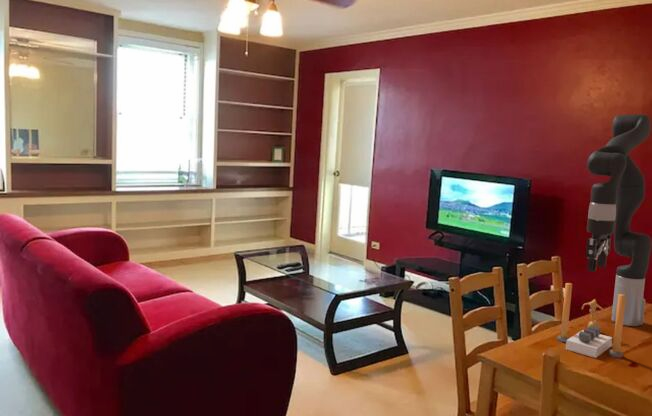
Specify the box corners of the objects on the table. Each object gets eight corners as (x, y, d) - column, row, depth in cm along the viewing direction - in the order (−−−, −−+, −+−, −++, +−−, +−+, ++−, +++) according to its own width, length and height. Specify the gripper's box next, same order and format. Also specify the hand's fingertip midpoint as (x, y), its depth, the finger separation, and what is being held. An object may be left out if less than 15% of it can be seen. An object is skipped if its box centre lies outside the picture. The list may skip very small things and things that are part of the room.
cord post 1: (566, 338, 181) (572, 282, 179) (571, 342, 178) (577, 285, 175) (555, 338, 181) (561, 282, 179) (560, 342, 178) (565, 285, 175)
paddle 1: (581, 337, 172) (580, 331, 171) (591, 340, 170) (590, 333, 169) (579, 340, 171) (578, 333, 170) (589, 342, 169) (589, 336, 168)
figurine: (608, 334, 187) (612, 300, 185) (601, 338, 183) (604, 303, 181) (583, 327, 193) (587, 294, 191) (576, 331, 189) (579, 297, 187)
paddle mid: (585, 334, 175) (585, 328, 174) (595, 337, 173) (595, 330, 172) (583, 337, 174) (583, 330, 173) (593, 339, 172) (593, 333, 171)
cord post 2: (618, 353, 170) (624, 293, 168) (624, 358, 167) (631, 297, 164) (606, 352, 170) (613, 293, 168) (612, 357, 167) (619, 296, 164)
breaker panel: (582, 338, 182) (583, 329, 182) (611, 346, 176) (612, 337, 175) (565, 349, 172) (566, 339, 172) (595, 358, 166) (596, 348, 165)
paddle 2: (590, 331, 178) (590, 325, 177) (600, 334, 176) (600, 327, 175) (588, 334, 177) (588, 327, 176) (598, 336, 175) (598, 330, 174)
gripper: (596, 214, 176) (592, 263, 178) (580, 218, 166) (575, 270, 168) (622, 217, 171) (617, 267, 173) (606, 221, 161) (601, 275, 163)
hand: (596, 269), depth 170 cm, fingers open, 8 cm apart
